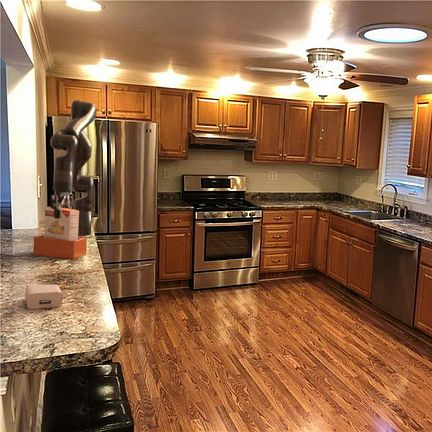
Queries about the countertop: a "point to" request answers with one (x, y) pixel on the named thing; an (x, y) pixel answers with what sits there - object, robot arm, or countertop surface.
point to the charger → (43, 296)
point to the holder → (59, 247)
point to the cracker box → (61, 224)
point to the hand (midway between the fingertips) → (61, 217)
